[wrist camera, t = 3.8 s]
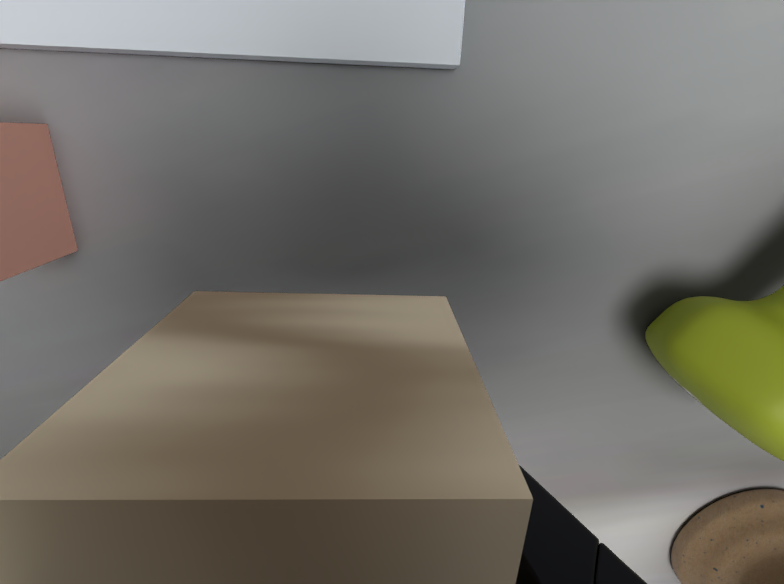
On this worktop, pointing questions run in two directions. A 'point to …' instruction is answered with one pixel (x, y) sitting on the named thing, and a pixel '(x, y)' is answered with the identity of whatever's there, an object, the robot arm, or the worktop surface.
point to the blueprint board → (245, 29)
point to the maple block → (273, 454)
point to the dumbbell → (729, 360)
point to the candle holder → (734, 541)
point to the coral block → (31, 201)
